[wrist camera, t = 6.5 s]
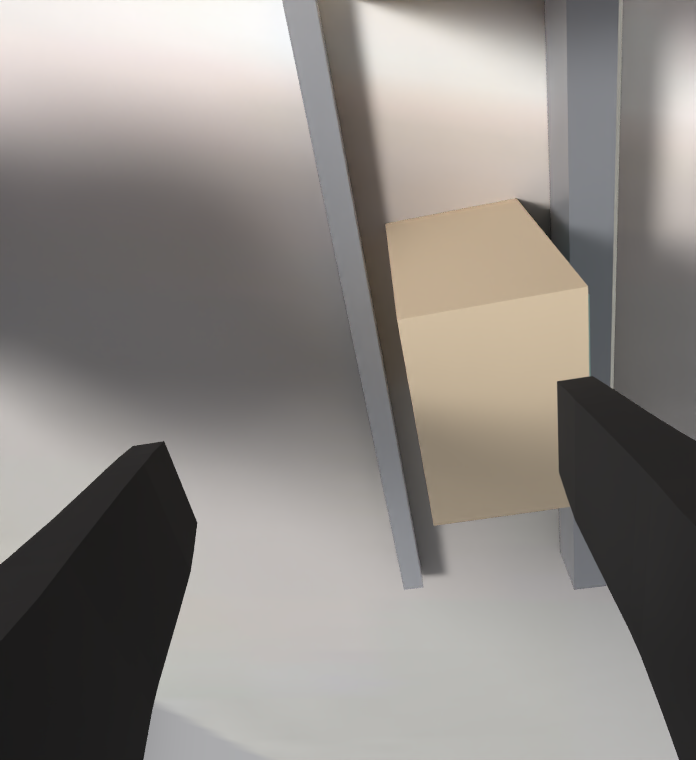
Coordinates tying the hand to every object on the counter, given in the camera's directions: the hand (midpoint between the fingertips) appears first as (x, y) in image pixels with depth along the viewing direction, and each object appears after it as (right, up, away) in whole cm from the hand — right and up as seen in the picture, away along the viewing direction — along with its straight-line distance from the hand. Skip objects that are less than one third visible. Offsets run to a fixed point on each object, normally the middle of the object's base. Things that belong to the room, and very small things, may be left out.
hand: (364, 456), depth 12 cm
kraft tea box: (+3, +4, +9) cm, 11 cm away
